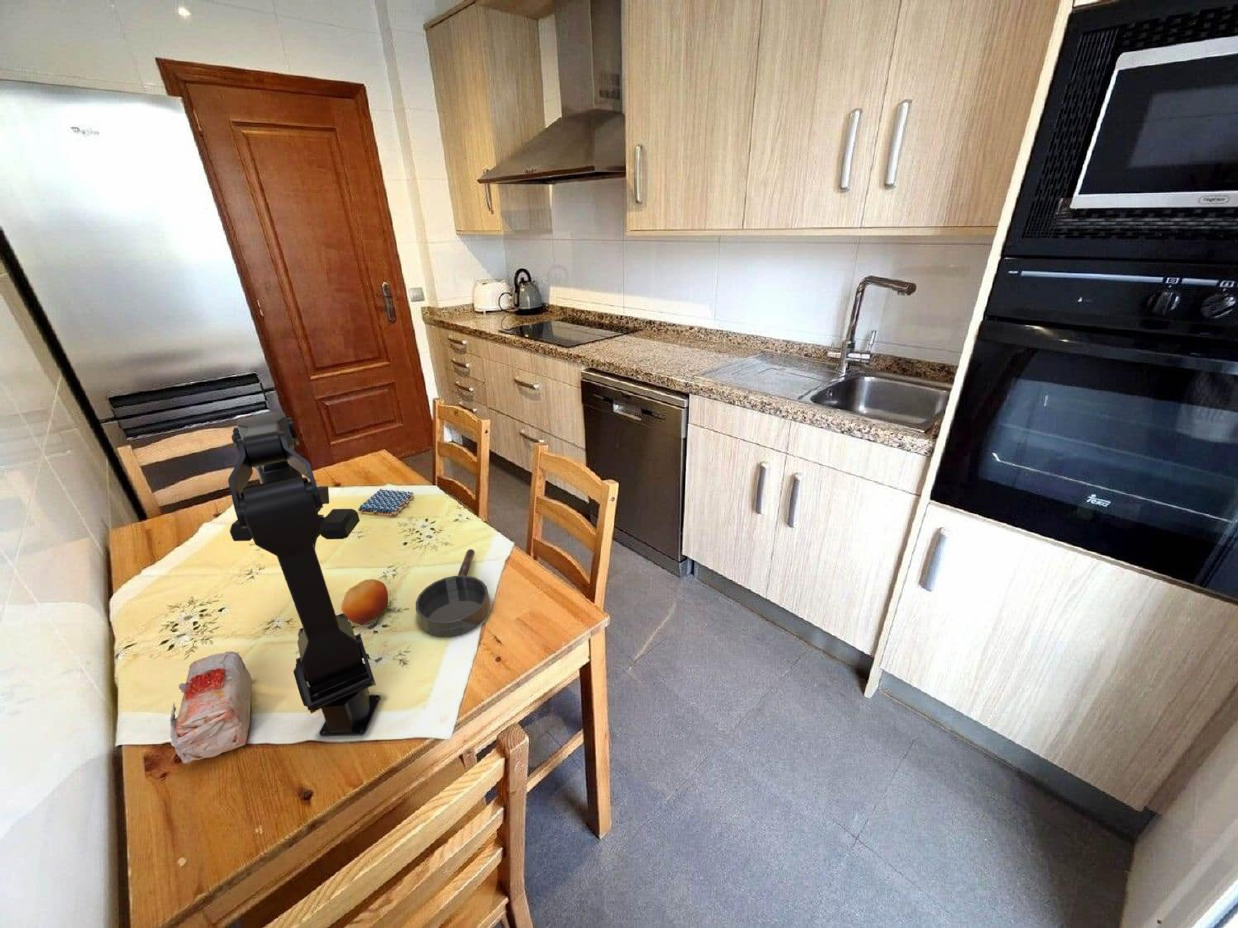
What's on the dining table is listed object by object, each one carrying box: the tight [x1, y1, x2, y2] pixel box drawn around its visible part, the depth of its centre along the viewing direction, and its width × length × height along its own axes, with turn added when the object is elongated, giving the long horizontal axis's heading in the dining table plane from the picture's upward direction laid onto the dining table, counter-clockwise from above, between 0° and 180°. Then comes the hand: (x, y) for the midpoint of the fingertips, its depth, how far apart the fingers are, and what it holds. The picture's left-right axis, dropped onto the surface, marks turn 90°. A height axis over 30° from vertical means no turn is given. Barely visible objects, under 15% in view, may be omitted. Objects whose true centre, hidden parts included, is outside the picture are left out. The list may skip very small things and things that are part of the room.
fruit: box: [340, 578, 392, 625], centre depth 94 cm, size 8×8×8 cm
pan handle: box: [457, 548, 476, 576], centre depth 104 cm, size 10×2×2 cm, turn 3°
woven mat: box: [357, 488, 415, 517], centre depth 130 cm, size 10×11×2 cm
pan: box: [415, 575, 491, 638], centre depth 95 cm, size 13×13×4 cm
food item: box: [169, 651, 252, 765], centre depth 72 cm, size 14×8×10 cm, turn 31°
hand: (309, 564), depth 89 cm, fingers closed
